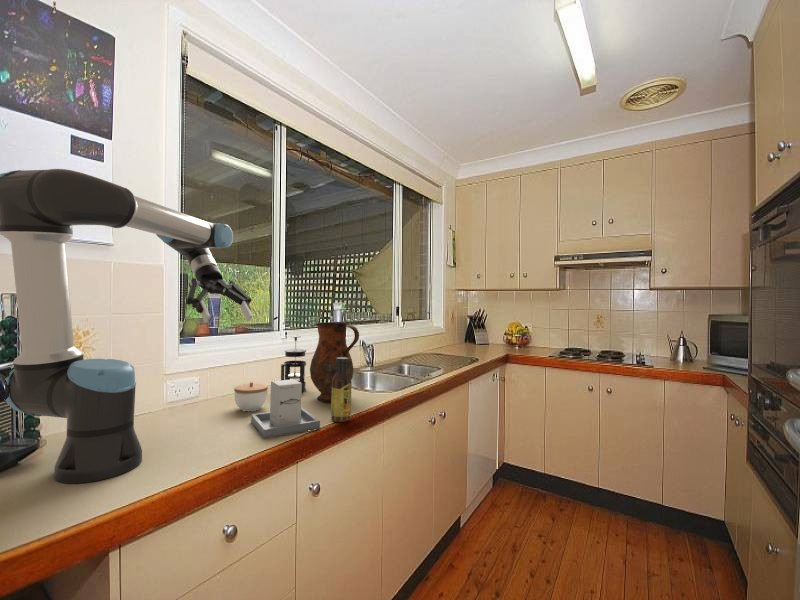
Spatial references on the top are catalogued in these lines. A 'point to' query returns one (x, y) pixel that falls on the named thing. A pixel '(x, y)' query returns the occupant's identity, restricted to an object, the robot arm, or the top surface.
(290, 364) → the french press
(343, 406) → the sauce bottle
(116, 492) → the top surface
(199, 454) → the top surface
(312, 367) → the pitcher
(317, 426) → the tray
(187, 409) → the top surface
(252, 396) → the lidded jar
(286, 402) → the supplement box
